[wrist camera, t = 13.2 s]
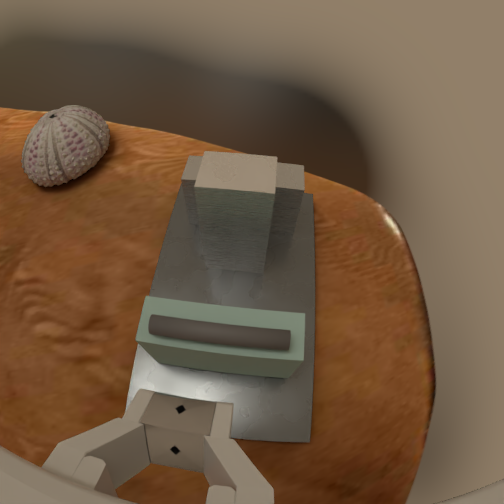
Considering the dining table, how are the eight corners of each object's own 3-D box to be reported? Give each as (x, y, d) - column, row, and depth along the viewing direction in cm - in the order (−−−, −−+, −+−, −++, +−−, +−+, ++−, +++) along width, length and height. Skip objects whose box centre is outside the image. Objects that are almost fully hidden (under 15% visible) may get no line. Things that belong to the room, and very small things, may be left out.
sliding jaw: (288, 378, 23) (307, 355, 16) (157, 362, 23) (129, 334, 17) (290, 341, 24) (309, 305, 18) (164, 327, 24) (141, 287, 18)
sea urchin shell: (16, 182, 35) (-7, 142, 28) (74, 125, 42) (60, 85, 35) (70, 207, 33) (44, 158, 26) (133, 138, 40) (122, 90, 33)
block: (263, 273, 28) (275, 193, 19) (206, 267, 28) (194, 186, 19) (265, 240, 29) (277, 157, 21) (212, 234, 30) (204, 151, 21)
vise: (305, 441, 21) (332, 444, 15) (130, 419, 21) (91, 411, 15) (310, 203, 34) (324, 150, 28) (183, 191, 34) (174, 138, 28)
